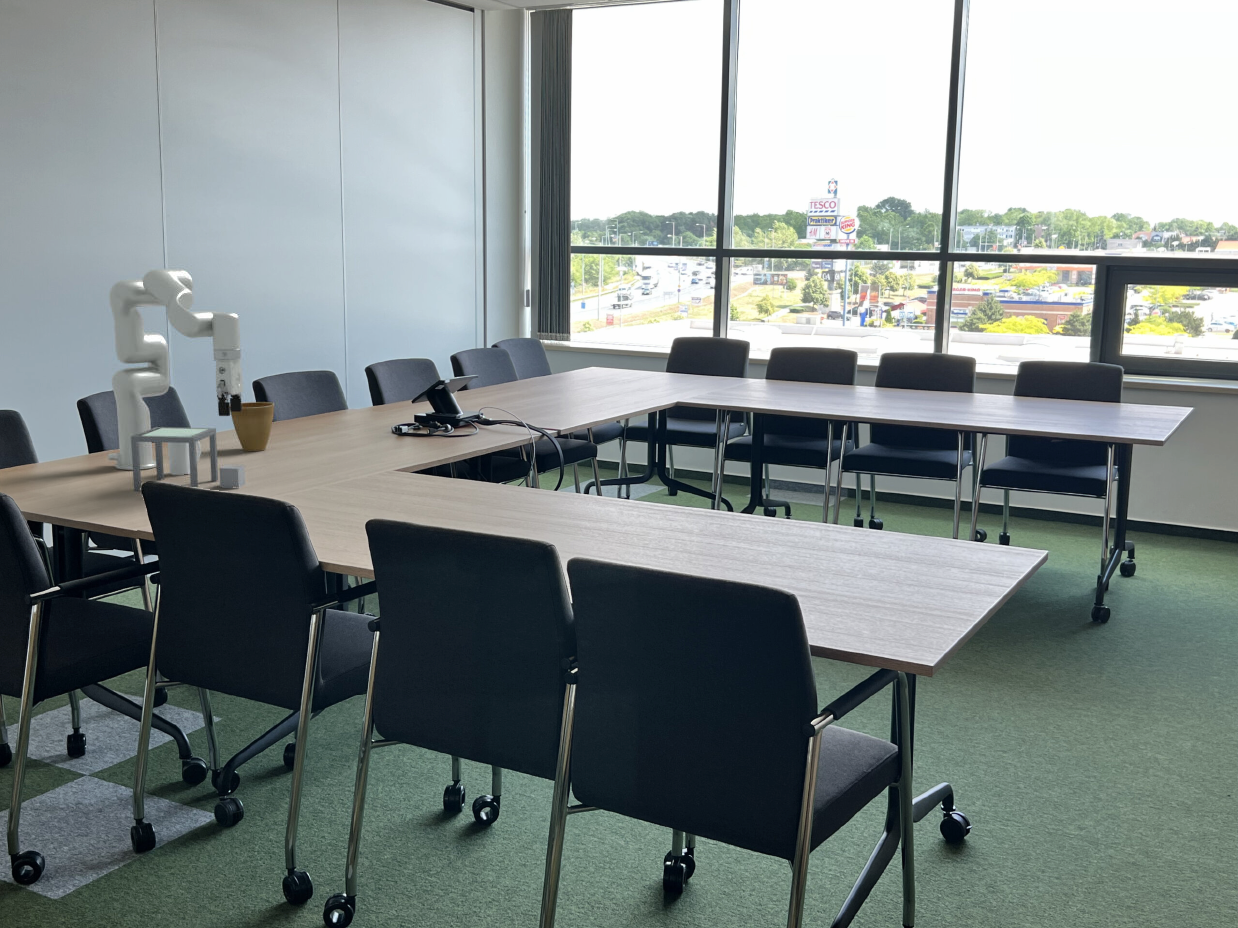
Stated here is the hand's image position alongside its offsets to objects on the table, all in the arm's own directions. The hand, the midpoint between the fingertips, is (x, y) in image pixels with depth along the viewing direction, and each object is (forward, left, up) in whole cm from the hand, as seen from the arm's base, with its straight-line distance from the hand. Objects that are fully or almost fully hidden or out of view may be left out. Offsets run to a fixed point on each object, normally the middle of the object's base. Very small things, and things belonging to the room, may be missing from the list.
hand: (230, 413), depth 336 cm
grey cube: (0, 0, -22) cm, 22 cm away
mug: (-21, +18, -22) cm, 36 cm away
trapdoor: (-16, -1, -7) cm, 18 cm away
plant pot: (-14, +61, -22) cm, 67 cm away
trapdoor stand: (-16, -1, -22) cm, 27 cm away
